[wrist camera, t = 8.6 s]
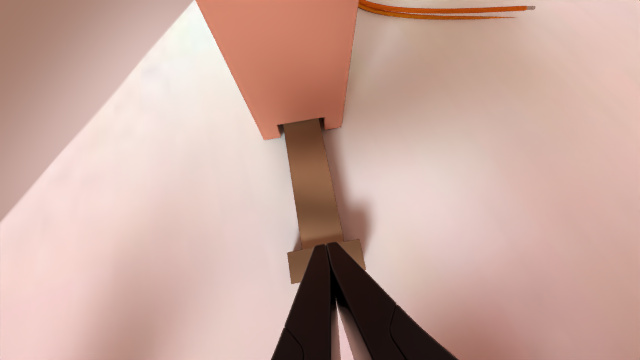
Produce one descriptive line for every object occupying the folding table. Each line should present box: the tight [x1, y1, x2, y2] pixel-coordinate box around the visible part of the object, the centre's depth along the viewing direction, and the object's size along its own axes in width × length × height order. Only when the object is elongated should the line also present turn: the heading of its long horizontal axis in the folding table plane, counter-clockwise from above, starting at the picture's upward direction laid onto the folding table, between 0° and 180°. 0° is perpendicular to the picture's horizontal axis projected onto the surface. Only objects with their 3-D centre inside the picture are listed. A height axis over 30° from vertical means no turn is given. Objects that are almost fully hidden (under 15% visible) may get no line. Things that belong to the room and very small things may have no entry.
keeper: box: [196, 0, 359, 140], centre depth 16 cm, size 5×7×14 cm
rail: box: [283, 118, 366, 284], centre depth 19 cm, size 20×6×5 cm, turn 10°
